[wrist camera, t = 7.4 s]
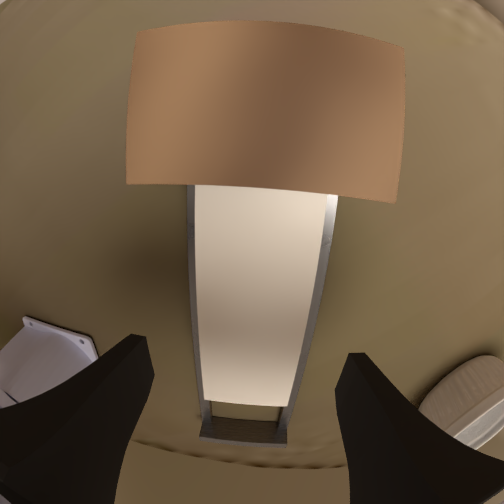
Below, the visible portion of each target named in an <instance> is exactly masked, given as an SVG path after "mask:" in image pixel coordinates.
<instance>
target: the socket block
mask: <svg viewBox="0 0 504 504" xmlns="http://www.w3.org/2000/svg"><path fill="white" fill-rule="evenodd" d="M404 118H405V62H404V48H402V47H399V46H396V45H393V44H390V43H387V42H384V41H380V40H377V39H374V38H370V37H366V36H362V35H358V34H354V33H350V32H345V31H340V30H335V29H330V28H324V27H318V26H312V25H304V24H296V23H285V22H272V21H212V22H199V23H189V24H180V25H173V26H166V27H160V28H154V29H149V30H144V31H139V32H137V37H136V42H135V48H134V55H133V62H132V70H131V78H130V88H129V99H128V112H127V132H126V184H185V185H216V186H236V187H253V188H267V189H279V190H291V191H302V192H311V193H321V194H330V195H338V196H346V197H354V198H361V199H368V200H375V201H382V202H388V203H396V197H397V191H398V184H399V176H400V168H401V159H402V148H403V135H404Z"/></svg>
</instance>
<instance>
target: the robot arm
mask: <svg viewBox="0 0 504 504" xmlns="http://www.w3.org/2000/svg"><path fill="white" fill-rule="evenodd" d="M23 322H24V325H25V326H24V327H23V328H22V329H21V330H20V331H19V332H18V333H17V334H16V335H15V336H14V337H13V338H12V339H11V340H10V341H9V342H8V343H7V344H6V345H5V346H4V347H3V349H2V350H1V351H0V504H114V501H115V495H116V489H117V483H118V479H119V474H120V469H121V466H122V462H123V458H124V454H125V451H126V448H127V445H128V442H129V440H130V438H131V435H132V433H133V431H134V428H135V426H136V424H137V422H138V419H139V417H140V415H141V413H142V410H143V408H144V406H145V403H146V401H147V399H148V396H149V393H150V389H151V386H152V382H153V379H154V375H155V374H154V370H153V366H152V362H151V358H150V354H149V349H148V345H147V340H146V336H140V335H135V334H130V335H129V336H127V337H126V338H124V339H123V340H122V341H121V342H119V343H118V344H117V345H115V346H114V347H113V348H111V349H110V350H109V351H107V352H106V353H105V354H103V355H102V356H101V357H99V358H98V355H97V353H96V350H95V347H94V344H93V341H92V339H91V338H90V337H88V336H85V335H81V334H78V333H75V332H71V331H68V330H65V329H62V328H58V327H55V326H52V325H49V324H46V323H43V322H41V321H38V320H35V319H32V318H29V317H27V316H24V317H23ZM335 398H336V409H337V416H338V420H339V425H340V430H341V434H342V439H343V443H344V448H345V452H346V457H347V462H348V469H349V481H350V504H483V503H484V502H486V501H487V500H489V499H490V498H492V497H493V496H495V495H496V494H498V493H499V492H500V491H502V490H503V489H504V461H502V460H499V459H496V458H493V457H491V456H488V455H486V454H483V453H481V452H479V451H477V450H475V449H473V448H471V447H469V446H467V445H465V444H463V443H462V442H460V441H458V440H457V439H455V438H454V437H452V436H451V435H449V434H448V433H446V432H445V431H443V430H442V429H440V428H439V427H438V426H437V425H435V424H434V423H433V422H432V421H430V420H429V419H428V418H427V417H425V416H424V415H423V414H422V413H421V412H420V411H419V410H418V409H417V408H416V407H415V406H413V405H412V404H411V403H410V402H409V401H408V400H407V399H406V398H405V397H404V396H403V395H402V394H401V393H400V391H399V390H398V389H397V388H396V387H395V386H394V385H393V384H392V383H391V382H390V381H389V380H388V378H387V377H386V376H385V375H384V374H383V373H382V372H381V371H380V369H379V368H378V367H377V366H376V365H375V364H374V363H373V361H372V360H371V359H370V358H369V357H368V356H367V355H366V354H365V353H349V354H348V357H347V360H346V362H345V365H344V368H343V370H342V373H341V376H340V378H339V381H338V383H337V386H336V388H335ZM499 504H504V501H502V502H501V503H499Z"/></svg>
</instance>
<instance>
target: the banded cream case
mask: <svg viewBox="0 0 504 504" xmlns="http://www.w3.org/2000/svg"><path fill="white" fill-rule="evenodd" d="M327 195H328V194H321V193H311V192H302V191H291V190H279V189H267V188H253V187H236V186H216V185H195V267H196V295H197V315H198V332H199V346H200V359H201V371H202V381H203V391H204V400H212V401H219V402H228V403H238V404H249V405H263V406H287V405H288V401H289V397H290V394H291V390H292V386H293V382H294V378H295V374H296V370H297V365H298V361H299V357H300V353H301V348H302V344H303V339H304V334H305V330H306V325H307V320H308V315H309V310H310V305H311V300H312V294H313V289H314V283H315V278H316V272H317V266H318V260H319V254H320V247H321V240H322V234H323V227H324V219H325V212H326V204H327Z"/></svg>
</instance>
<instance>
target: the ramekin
mask: <svg viewBox="0 0 504 504" xmlns="http://www.w3.org/2000/svg"><path fill="white" fill-rule="evenodd" d="M418 410H419V411H420V412H421V413H422V414H423V415H424V416H425V417H427V418H428V419H429V420H430V421H432V422H433V423H434V424H435V425H437V426H438V427H439V428H440V429H442V430H443V431H445V432H446V433H448V434H449V435H451V436H452V437H454V438H455V439H457V440H458V441H460V442H462V443H463V444H465V445H467V446H469V447H471V448H473V449H475V450H476V449H478V448H479V447H481V446H482V445H483V444H485V443H486V442H487V441H489V440H490V439H491V438H492V437H493V436H495V435H496V434H497V433H498V432H499V431H500V430H501V429H502V428H503V427H504V363H503V362H502V361H501V360H500V359H499V358H497V357H495V356H491V355H489V356H486V355H483V356H478V357H476V358H473V359H471V360H469V361H467V362H465V363H463V364H462V365H460V366H459V367H457V368H456V369H455V370H453V371H452V372H451V373H449V374H448V375H447V376H446V377H444V378H443V379H442V380H441V381H440V382H439V383H438V384H437V385H436V386H435V387H434V388H433V389H432V390H431V391H430V392H429V393H428V394H427V396H426V397H425V398H424V400H423V401H422V403H421V405H420V407H419V409H418Z"/></svg>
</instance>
